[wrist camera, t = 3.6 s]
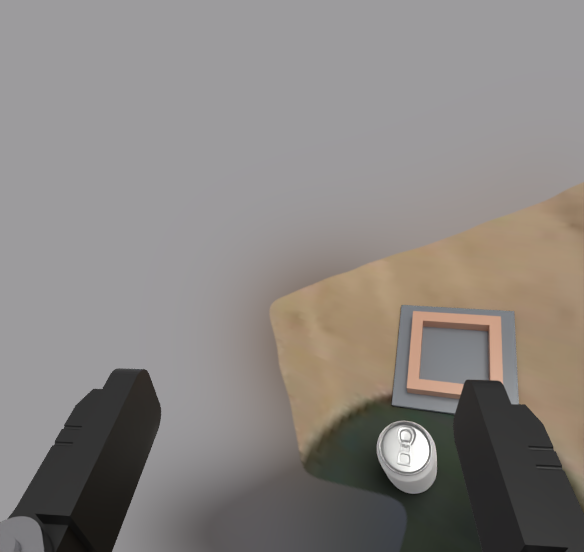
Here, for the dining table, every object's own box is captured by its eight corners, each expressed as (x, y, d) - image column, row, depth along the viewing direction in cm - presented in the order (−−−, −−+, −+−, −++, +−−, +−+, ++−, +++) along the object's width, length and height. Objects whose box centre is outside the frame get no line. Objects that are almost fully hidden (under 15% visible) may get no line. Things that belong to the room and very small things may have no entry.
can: (438, 445, 56) (438, 421, 46) (435, 499, 52) (434, 486, 43) (388, 436, 58) (378, 412, 48) (382, 488, 55) (370, 472, 45)
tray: (518, 423, 54) (522, 418, 52) (392, 405, 60) (390, 400, 58) (513, 313, 62) (516, 304, 60) (401, 306, 68) (400, 298, 66)
